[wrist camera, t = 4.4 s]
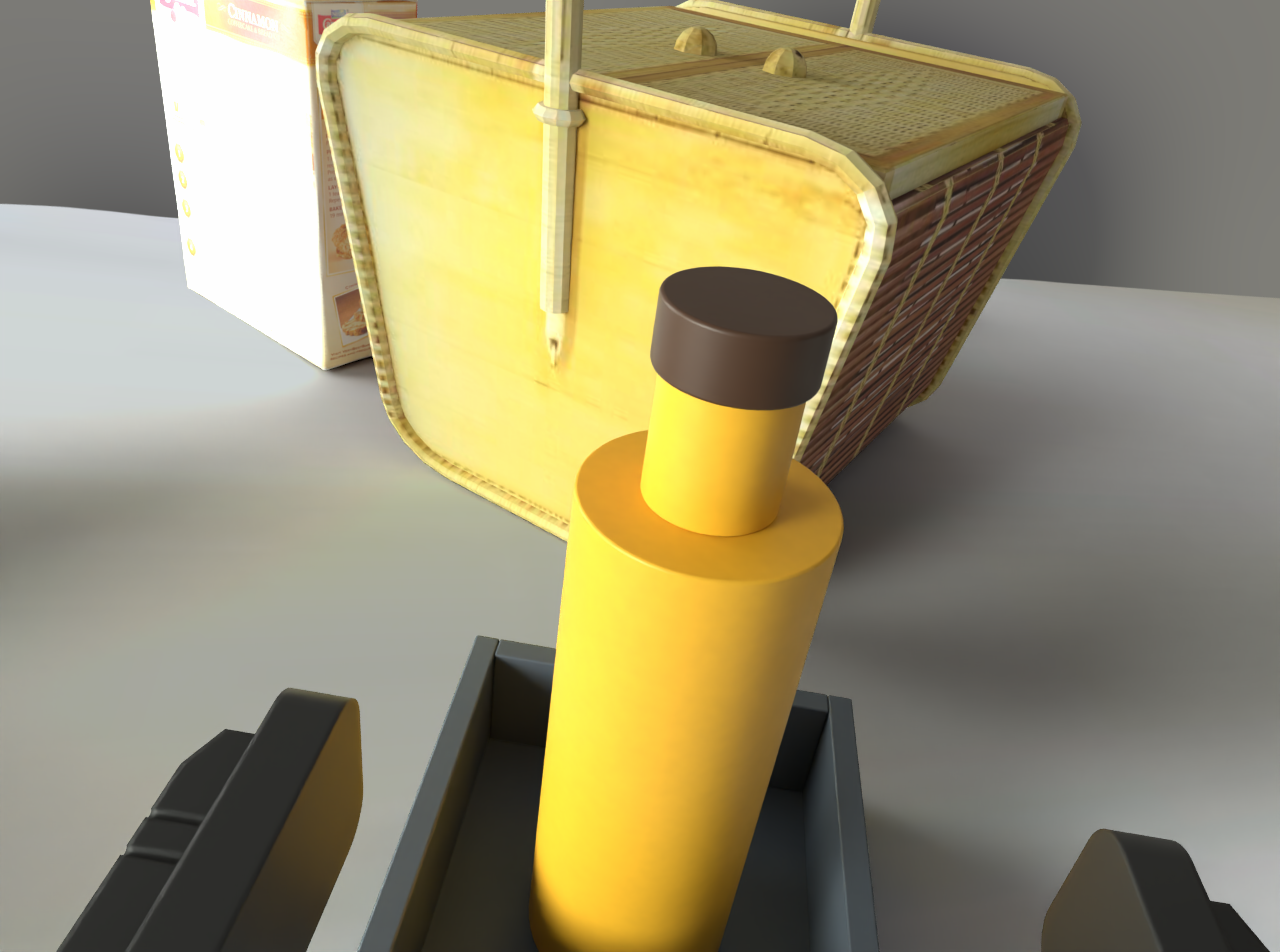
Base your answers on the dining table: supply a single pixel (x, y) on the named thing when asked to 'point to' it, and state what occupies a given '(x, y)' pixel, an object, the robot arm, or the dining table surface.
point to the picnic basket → (663, 213)
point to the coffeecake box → (262, 167)
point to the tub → (509, 807)
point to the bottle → (684, 622)
